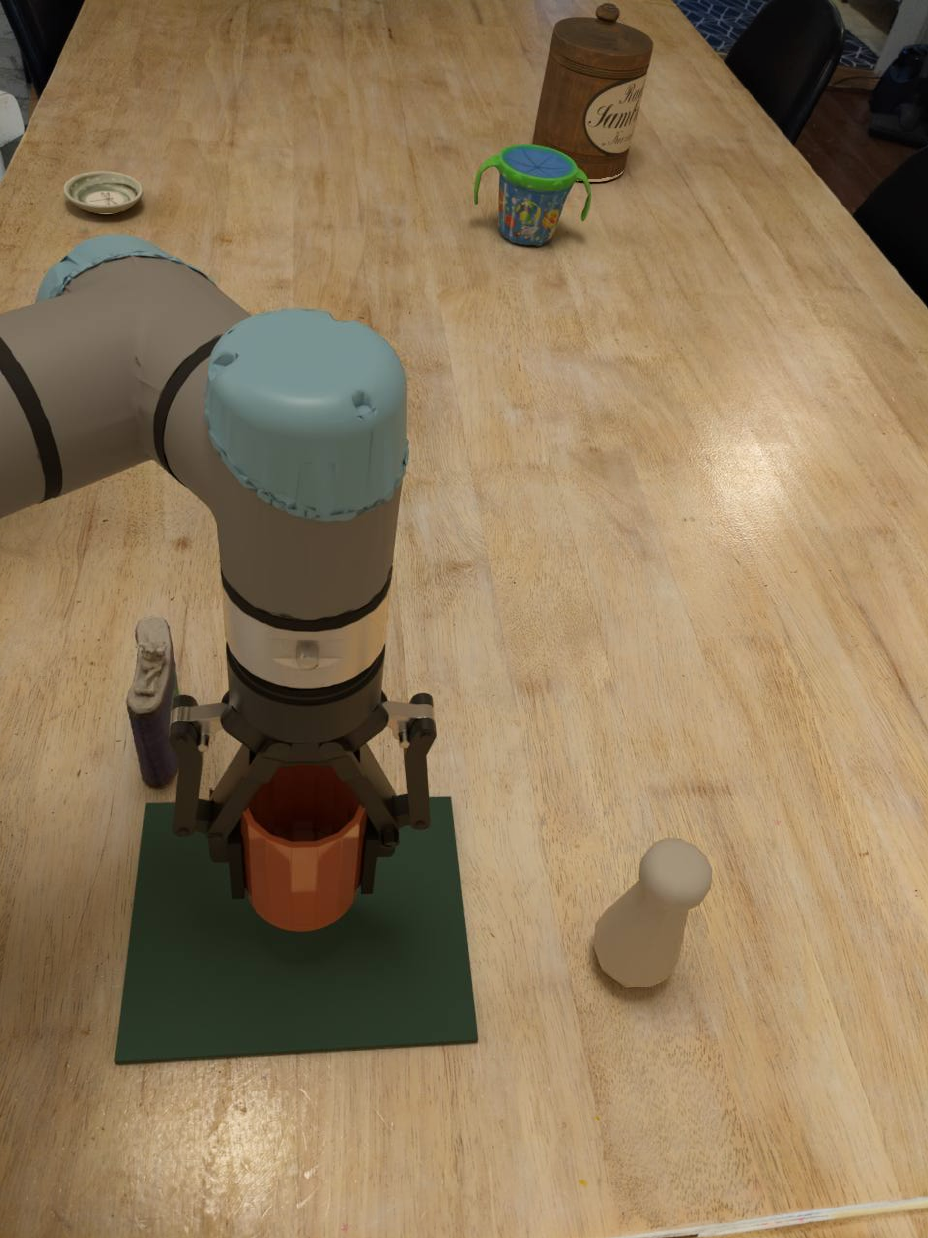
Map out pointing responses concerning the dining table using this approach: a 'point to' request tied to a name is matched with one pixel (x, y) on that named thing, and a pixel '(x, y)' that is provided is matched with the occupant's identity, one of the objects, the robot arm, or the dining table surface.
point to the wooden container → (593, 91)
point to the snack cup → (532, 191)
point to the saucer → (103, 191)
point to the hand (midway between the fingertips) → (303, 876)
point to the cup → (303, 848)
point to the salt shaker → (652, 915)
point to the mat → (293, 957)
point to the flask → (154, 702)
